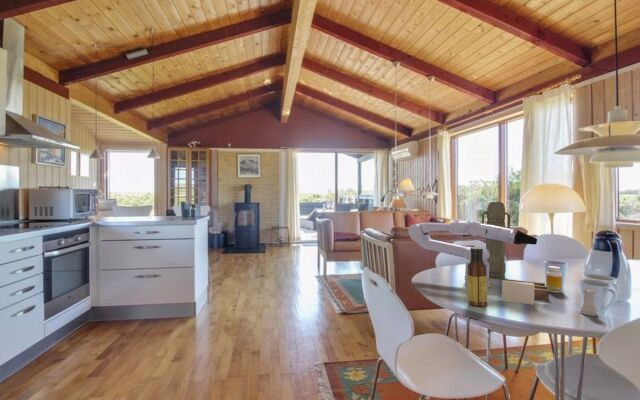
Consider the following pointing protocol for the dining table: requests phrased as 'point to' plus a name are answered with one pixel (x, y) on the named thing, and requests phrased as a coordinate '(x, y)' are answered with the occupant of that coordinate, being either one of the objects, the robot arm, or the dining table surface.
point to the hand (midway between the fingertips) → (536, 241)
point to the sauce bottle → (477, 279)
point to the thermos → (494, 246)
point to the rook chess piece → (588, 303)
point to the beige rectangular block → (518, 292)
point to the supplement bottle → (554, 279)
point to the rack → (537, 289)
